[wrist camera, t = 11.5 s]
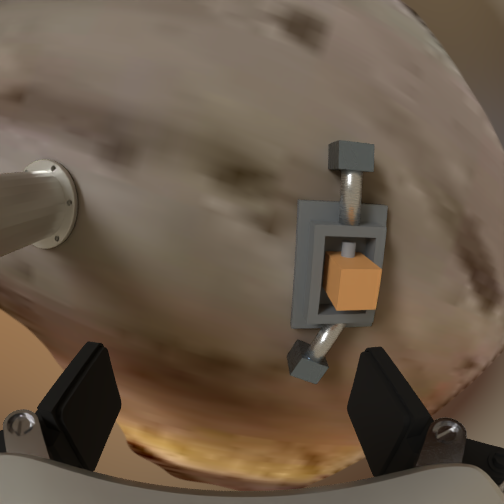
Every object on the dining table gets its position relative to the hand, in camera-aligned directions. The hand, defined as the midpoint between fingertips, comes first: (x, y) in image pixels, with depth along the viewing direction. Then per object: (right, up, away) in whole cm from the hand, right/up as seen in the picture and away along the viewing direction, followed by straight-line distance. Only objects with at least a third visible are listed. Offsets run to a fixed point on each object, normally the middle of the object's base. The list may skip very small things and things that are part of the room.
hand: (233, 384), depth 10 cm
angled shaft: (+9, -6, +29) cm, 31 cm away
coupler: (+11, +3, +26) cm, 28 cm away
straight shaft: (+12, +12, +24) cm, 30 cm away
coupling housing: (+11, +3, +27) cm, 29 cm away
